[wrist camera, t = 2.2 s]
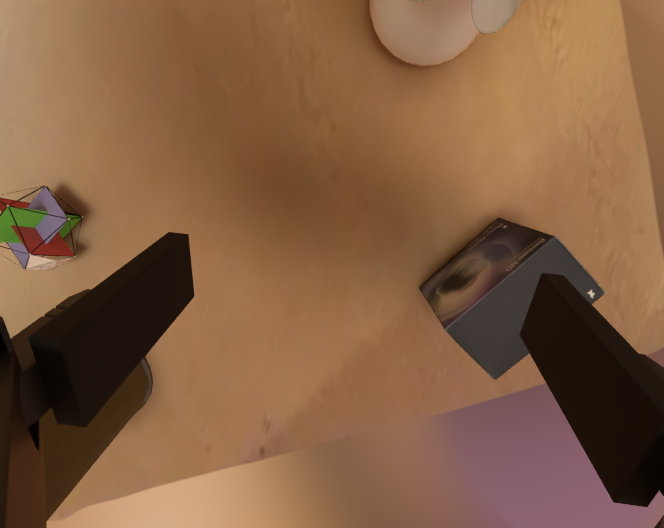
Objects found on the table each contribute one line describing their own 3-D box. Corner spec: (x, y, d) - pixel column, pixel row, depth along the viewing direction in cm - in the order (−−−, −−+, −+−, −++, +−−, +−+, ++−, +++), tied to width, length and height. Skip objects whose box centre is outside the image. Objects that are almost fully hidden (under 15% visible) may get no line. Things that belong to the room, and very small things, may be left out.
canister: (81, 314, 40) (-158, 454, 21) (169, 365, 41) (23, 541, 22) (39, 390, 42) (-210, 580, 23) (124, 436, 44) (-43, 651, 24)
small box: (496, 212, 37) (557, 230, 27) (538, 259, 38) (612, 293, 28) (414, 286, 39) (442, 329, 29) (456, 328, 40) (498, 384, 30)
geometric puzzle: (-26, 210, 35) (-49, 264, 30) (17, 156, 34) (1, 203, 29) (58, 244, 40) (52, 296, 35) (98, 199, 39) (98, 246, 34)
